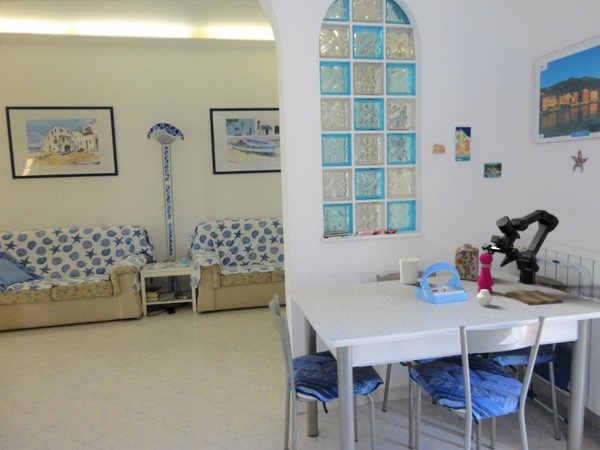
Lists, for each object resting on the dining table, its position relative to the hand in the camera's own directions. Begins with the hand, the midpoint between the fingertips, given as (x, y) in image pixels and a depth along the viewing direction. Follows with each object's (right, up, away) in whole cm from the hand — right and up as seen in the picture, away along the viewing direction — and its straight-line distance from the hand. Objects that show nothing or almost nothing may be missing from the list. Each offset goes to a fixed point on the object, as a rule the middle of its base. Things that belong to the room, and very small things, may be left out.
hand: (492, 265), depth 214 cm
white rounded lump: (-12, -15, -21) cm, 29 cm away
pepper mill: (-4, -13, -1) cm, 13 cm away
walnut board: (+13, -14, -13) cm, 23 cm away
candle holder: (-35, -11, +20) cm, 42 cm away
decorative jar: (-2, -9, +29) cm, 30 cm away
